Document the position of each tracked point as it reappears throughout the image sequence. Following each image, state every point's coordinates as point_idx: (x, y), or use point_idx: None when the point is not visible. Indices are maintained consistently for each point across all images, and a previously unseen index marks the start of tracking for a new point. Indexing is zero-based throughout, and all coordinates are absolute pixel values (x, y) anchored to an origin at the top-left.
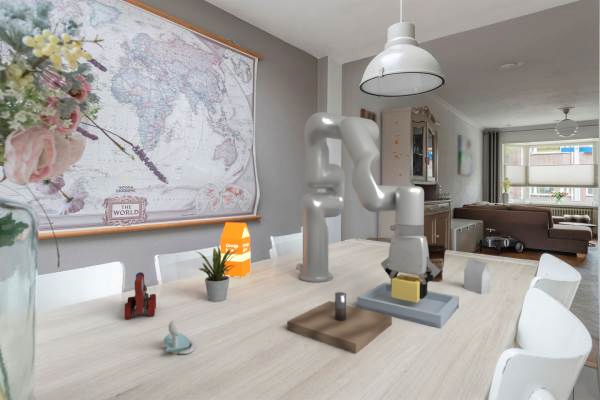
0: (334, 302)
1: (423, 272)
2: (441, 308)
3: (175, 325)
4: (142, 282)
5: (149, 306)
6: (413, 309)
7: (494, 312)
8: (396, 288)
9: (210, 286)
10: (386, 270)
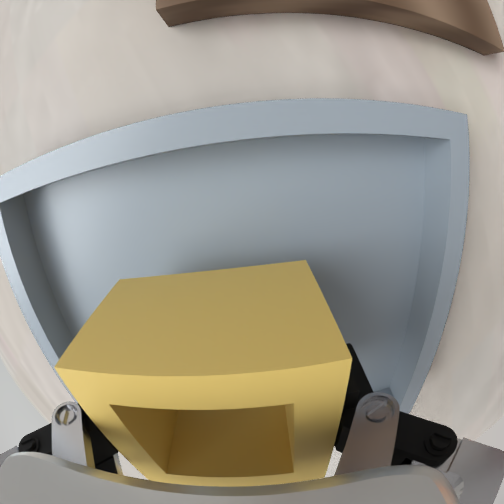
0: (486, 38)
1: (6, 461)
2: None
3: None
4: None
5: None
6: (71, 147)
7: (53, 404)
8: (273, 306)
9: None
10: (443, 437)
